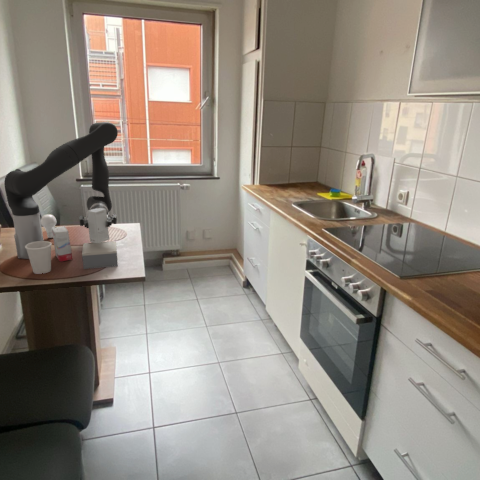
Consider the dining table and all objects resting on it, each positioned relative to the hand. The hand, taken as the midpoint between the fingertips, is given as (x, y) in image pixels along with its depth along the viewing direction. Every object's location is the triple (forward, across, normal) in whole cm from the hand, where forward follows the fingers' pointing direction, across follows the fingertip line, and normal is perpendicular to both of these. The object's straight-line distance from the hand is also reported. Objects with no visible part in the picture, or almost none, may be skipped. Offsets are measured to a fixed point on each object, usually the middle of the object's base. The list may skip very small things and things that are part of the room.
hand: (98, 225), depth 141 cm
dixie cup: (+3, -20, +15) cm, 26 cm away
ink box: (-9, -14, +15) cm, 23 cm away
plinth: (-1, 0, +15) cm, 15 cm away
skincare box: (-1, 0, +7) cm, 7 cm away
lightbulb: (-37, -22, +16) cm, 46 cm away
